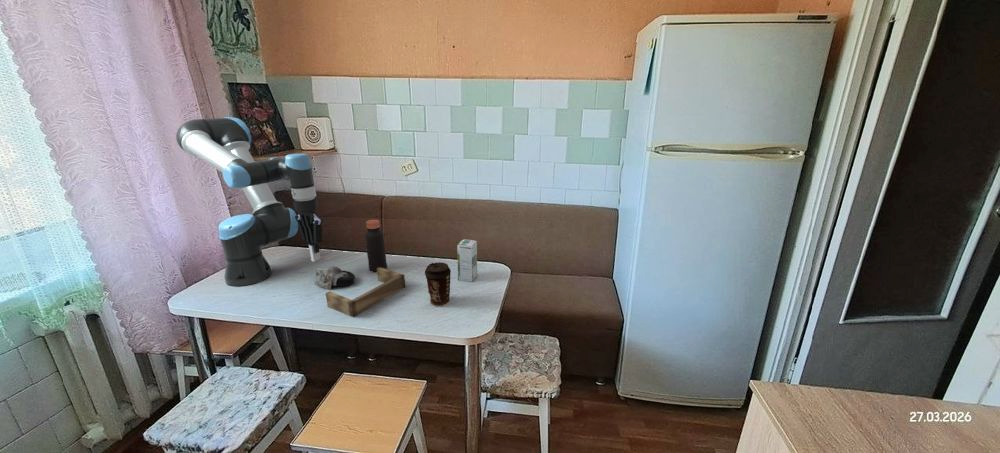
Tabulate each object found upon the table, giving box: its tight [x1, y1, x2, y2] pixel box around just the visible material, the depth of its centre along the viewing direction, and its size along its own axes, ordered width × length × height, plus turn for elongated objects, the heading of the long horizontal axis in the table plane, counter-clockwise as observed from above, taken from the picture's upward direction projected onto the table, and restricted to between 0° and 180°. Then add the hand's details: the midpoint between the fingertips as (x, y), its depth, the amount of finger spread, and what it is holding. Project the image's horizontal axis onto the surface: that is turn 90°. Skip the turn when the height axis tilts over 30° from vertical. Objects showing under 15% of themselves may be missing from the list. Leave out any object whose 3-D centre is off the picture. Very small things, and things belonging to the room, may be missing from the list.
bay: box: [325, 267, 407, 318], centre depth 135 cm, size 12×23×5 cm, turn 149°
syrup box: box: [456, 239, 478, 283], centre depth 146 cm, size 6×6×14 cm
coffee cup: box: [424, 261, 451, 308], centre depth 130 cm, size 9×8×13 cm
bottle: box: [364, 219, 388, 274], centre depth 153 cm, size 7×7×20 cm
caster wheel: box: [314, 265, 356, 291], centre depth 144 cm, size 7×11×10 cm
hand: (316, 260), depth 147 cm, fingers closed
